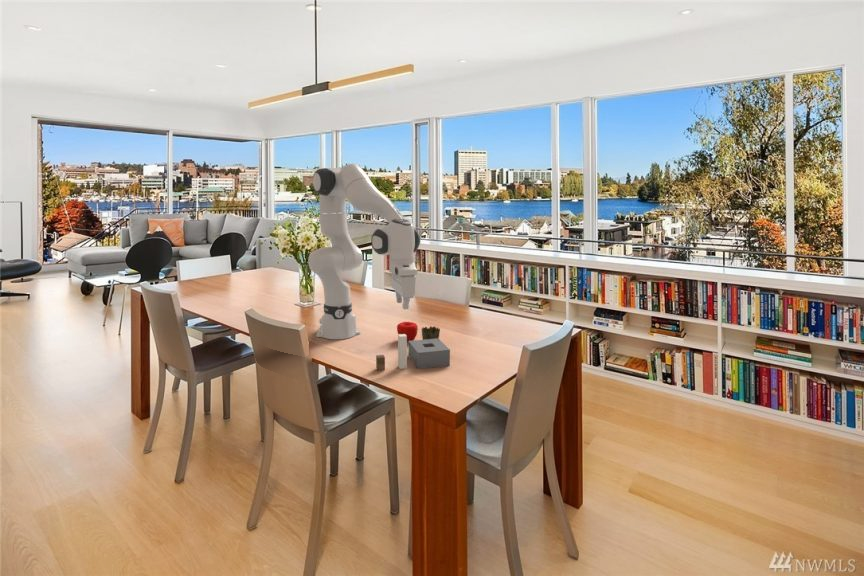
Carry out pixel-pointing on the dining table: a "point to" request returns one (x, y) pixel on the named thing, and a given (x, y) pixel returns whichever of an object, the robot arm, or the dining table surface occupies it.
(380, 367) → the short pin
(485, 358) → the dining table surface
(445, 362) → the hole block
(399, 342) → the tall pin
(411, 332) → the apple
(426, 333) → the small green plant
